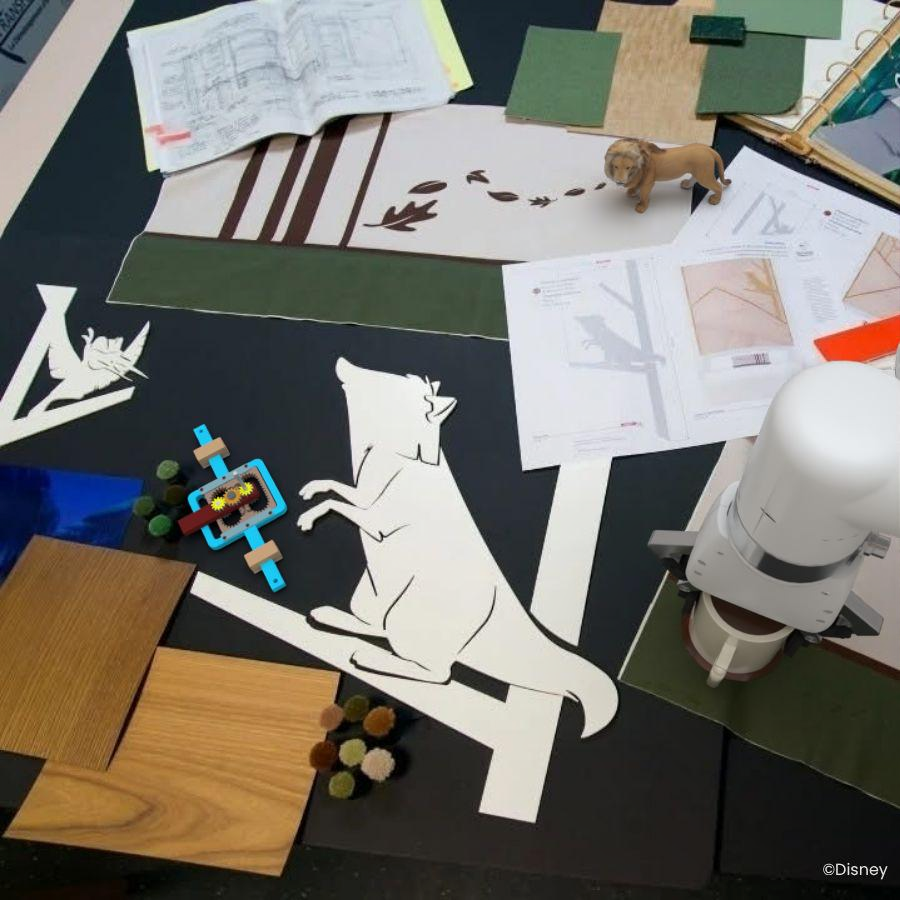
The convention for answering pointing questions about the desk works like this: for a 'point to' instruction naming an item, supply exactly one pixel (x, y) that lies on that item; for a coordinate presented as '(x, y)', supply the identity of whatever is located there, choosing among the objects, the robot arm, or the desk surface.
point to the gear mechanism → (235, 506)
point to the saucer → (729, 672)
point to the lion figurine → (662, 167)
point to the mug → (733, 637)
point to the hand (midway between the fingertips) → (741, 617)
